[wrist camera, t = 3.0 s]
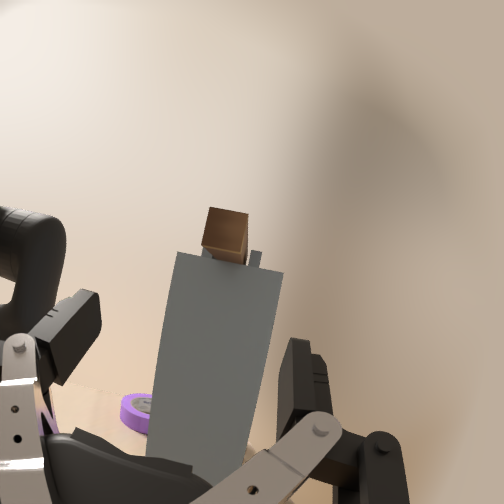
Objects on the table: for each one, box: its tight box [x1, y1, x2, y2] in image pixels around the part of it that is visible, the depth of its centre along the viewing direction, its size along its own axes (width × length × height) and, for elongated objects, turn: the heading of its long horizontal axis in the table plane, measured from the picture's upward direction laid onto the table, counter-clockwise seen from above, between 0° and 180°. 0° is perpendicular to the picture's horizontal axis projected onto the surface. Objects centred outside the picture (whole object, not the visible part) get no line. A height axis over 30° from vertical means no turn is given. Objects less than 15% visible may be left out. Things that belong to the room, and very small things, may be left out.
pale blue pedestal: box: [145, 247, 283, 487], centre depth 34 cm, size 12×16×34 cm
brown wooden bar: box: [201, 207, 248, 265], centre depth 31 cm, size 2×24×2 cm, turn 2°
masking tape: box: [120, 394, 152, 434], centre depth 53 cm, size 12×12×4 cm
